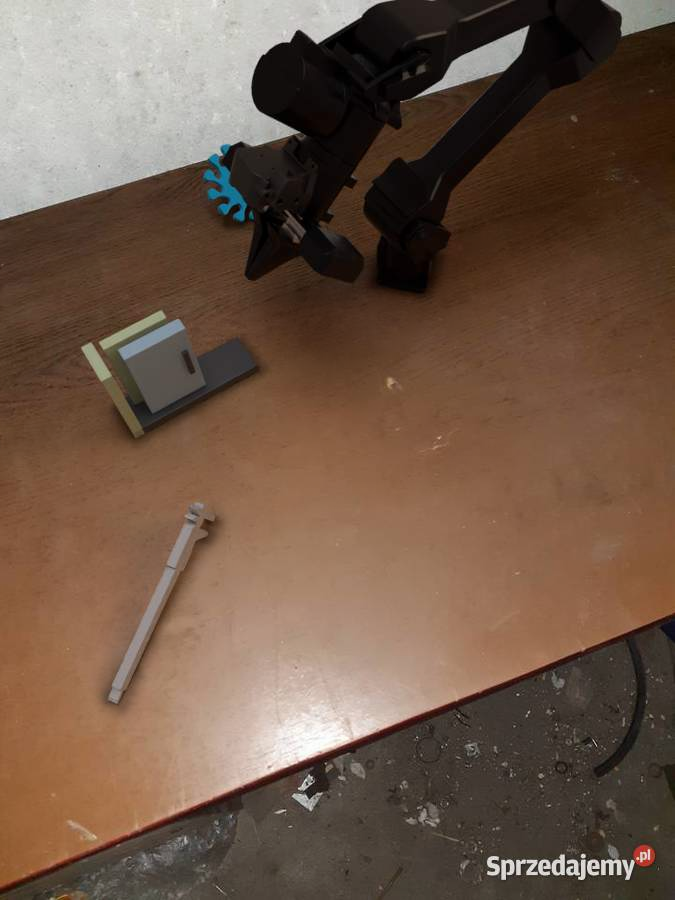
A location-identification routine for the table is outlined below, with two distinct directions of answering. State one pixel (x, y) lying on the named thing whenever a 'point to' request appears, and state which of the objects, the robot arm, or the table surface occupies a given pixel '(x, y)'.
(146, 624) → the caliper
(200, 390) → the closet frame
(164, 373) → the closet door
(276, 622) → the table surface
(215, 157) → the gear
